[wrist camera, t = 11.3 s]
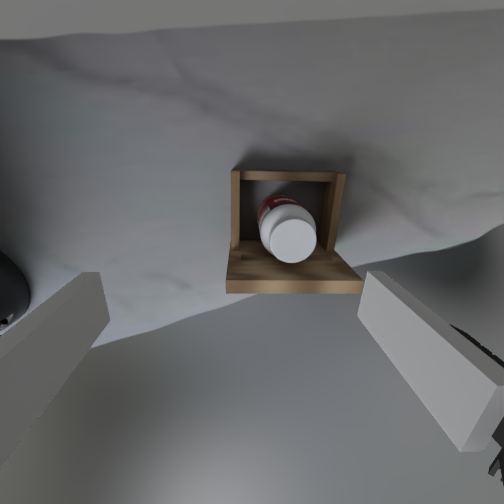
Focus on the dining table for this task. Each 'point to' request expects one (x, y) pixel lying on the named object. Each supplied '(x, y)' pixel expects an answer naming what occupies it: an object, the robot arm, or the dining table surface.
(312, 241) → the pill bottle
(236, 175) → the brown wooden l-shaped frame
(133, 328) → the dining table surface
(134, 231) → the dining table surface
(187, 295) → the dining table surface
